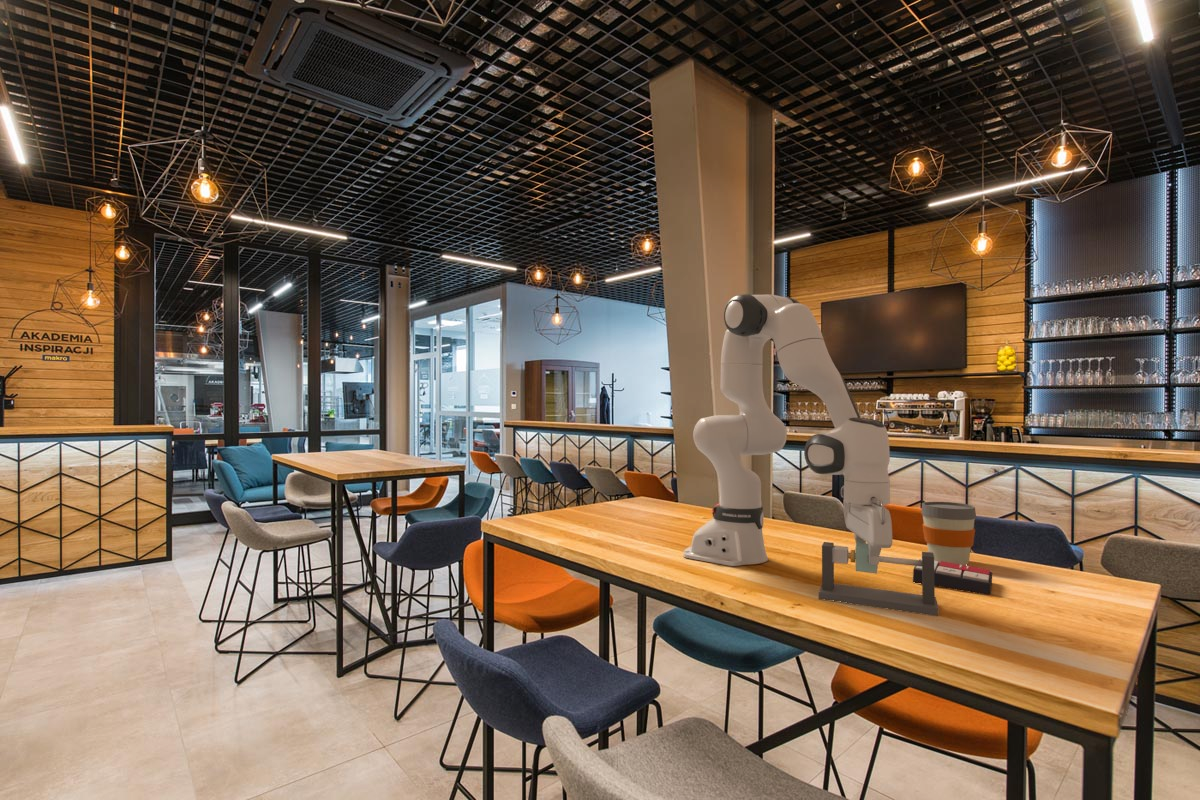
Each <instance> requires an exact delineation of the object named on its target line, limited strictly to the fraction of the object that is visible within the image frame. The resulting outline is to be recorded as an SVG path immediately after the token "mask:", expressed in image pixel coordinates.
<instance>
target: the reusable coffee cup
mask: <svg viewBox="0 0 1200 800" xmlns="http://www.w3.org/2000/svg"><path fill="white" fill-rule="evenodd" d="M920 513H921V515H922V520H923V523H922V524H921V525H922V531H923V538H924V541H925V542H926V545H927V552H932V553H933V554H934V561H938V562H939V563H940V562H941V561H943V562H949V563H955V564H960V565H966V564H968V565H969V564H970V557H971V550H972V549H971V548H972V547H973V546H974V543H975V542H974V541H975V533H976V528H975V520H976V519H977V515H976V514H977V513H976V507H975V505H971V504H968V503H961V502H950V501H925V502H922V503H921V511H920Z"/></svg>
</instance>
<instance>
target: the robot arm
mask: <svg viewBox="0 0 1200 800" xmlns="http://www.w3.org/2000/svg"><path fill="white" fill-rule="evenodd" d="M723 321H724V325H725V327H726V330H725V332H724V335H723V341H722V347H721V354H720V355H721V357H720V387H719V388H720V391H721V393H722V395H723V396H724V397H725V398H726V399H727V400H729V401H731V402H732V403H735V404H736V405H737V406H738V410H739V414H719V415H718V414H716V415H712V416H707V417H702V418H699V420H698V421H697V422H696V424H695V425H694V428H693V433H692V436H693V437H692V438H693V442H694V445H695V447H696V448H697V450H698V451H700V453H701V454H703V455H704V456H706V458H707V459H708V460H709V461H710V462H711V464H712V466H713V467H714V469H715V472H716V475H717V479H718V490H719V503H717V504H715V505H714V507H713V508H712V509H711V514H712V517H713V518H712V519H710V520H708V521H707V522H706V523H705V524H703V525H702V526H700V527H699V528H698V529H696V531H695V532H694V534H693V536H692V538H691V539H692V540H691V545H690V546H687V547H686V548H685V549H684V550H683V552H682V553H683V554H682V555H683V557H684V558H687V559H691V560H696V561H702V562H707V563H708V562H709V563H712V564H718V565H724V566H729V567H739V566H744V565H745V566H746V565H758V564H764V563H765V562H768V560H769V558H768V555H767V551H766V547H765V542H764V535H763V528H764V527H763V526H764V508H763V506H762V481H761V479H760V476H759V475H758V474H757V473H756V472H754V471H753V470H751V469H749V468H747V467H745V466H744V464H743V463H742V457H741V456H755V455H756V456H760V455H762V456H764V455H768V454H773V453H777V452H780V451H782V449H783V448H784V446H785V444H786V442H787V438H788V433H787V427H786V426H785V424H784V423H783V421H782V420H781V419H780V418H779V417H778V416H777V415H775V414H774V413H773V411H772V410H771V408H770V407H769V405H768V403H767V400H766V398H765V394H764V385H763V383H764V382H763V366H764V364H763V363H764V362H763V356H764V355H763V353H764V352H763V350H764V346H765V344H766V343H767V342H768V341H769V340H770V341H771V342H773V343H774V348H775V352H776V357H777V359H778V362H779V367H780V368H781V371H782V373H783V374H784V376H785V377H786V378H787V380H789V382H792V383H793V384H795V385H797V386H799V387H801V388H804V389H805V390H808V391H810V392H811V393H813V394H815V395H816V396H817V397H818V398H819V399H820V400H821V401H822V403H823V404H824V405H825V406H826V409H827V412H828V414H829V416H830V419H831V421H832V424H833V427H834V428H832V429H829V430H826V431H823V432H820V433H816V434H813V435H812V436H810V437H809V439H808V440H807V441H806V443H805V445H804V451H803V454H804V455H803V456H804V460H805V462H806V465H807V466H808V468H809V469H810V470H811V471H812V472H814V473H816V474H818V475H822V476H823V475H824V476H833V475H835V476H838V475H839V476H841V475H843V478H844V479H843V480H844V481H843V485H842V487H841V488H840V496H841V498H843V503H842V504H843V517H844V523H845V526H846V528H847V530H849V531H851V532H852V533H853V535H854V542H855V545H856V544H857V542H859V543H868V547H869V555H867V558H868V563H870V564H871V565H879V563H880V562H879V556H881V552H882V549H890V548H892V546H893V525H892V516H891V513H890V511H889V509H888V508H887V507H885V506H887V505H890V504H891V478H890V476H889V472H888V468H889V465H890V461H891V459H890V455H891V454H890V441H889V435H888V433H889V432H888V429H887V428H886V426H885V424H884V423H883V422H881V421H880V420H876V419H872V418H868V417H867V418H865V417H861V415H860V413H859V411H858V408H857V405H856V403H855V401H854V399H853V396H852V394H851V392H850V390H849V387H848V384H847V383H846V381H845V379H844V378H843V375H842V374H841V373H840V371H839V370H838V368H837V367H836V365H835V363H834V362H833V360H832V358H831V356H830V354H829V351H828V348H827V346H826V342H825V340H824V336H823V333H822V331H821V327H820V326H819V324H818V322H817V320H816V317H815V316H814V314H813V312H812V310H811V309H810V308H809V307H808V306H807V305H806V304H803V303H801V302H800V301H798V300H796V299H795V298H793V297H789V296H780V295H776V294H771V293H770V294H769V293H767V294H766V293H765V294H749V293H746V294H737V295H735V296H733V297H731V298H730V299H729V300H728V301H727V304H726V305H725V308H724V313H723Z"/></svg>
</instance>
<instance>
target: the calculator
mask: <svg viewBox="0 0 1200 800" xmlns="http://www.w3.org/2000/svg"><path fill="white" fill-rule="evenodd" d="M919 560H922V558H920V559H919ZM912 570H913V571H912V583H913V582H915V583H921V584H920V585H922V566H914V568H913V569H912ZM915 583H914V584H915ZM934 585H935V587H939V586H940V588H944V587H945V589H949V588H950V589H949V590H954V589H957V590H956V591H960V590H963V591H962V592H967V591H970V592H969V593H973V592H975V593H974V594H979V593H980V594H981V595H985V596H986V595H987V596H990V595H991V594H992V585H993V572H992V571H991V570H990V569H988V568H982V567H976V566H971V565H967V566H966V565H960V564H955V563H949V562H943V561H941V562H940V563H939V562H938V561H934Z"/></svg>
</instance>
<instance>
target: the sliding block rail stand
mask: <svg viewBox="0 0 1200 800" xmlns="http://www.w3.org/2000/svg"><path fill="white" fill-rule="evenodd" d="M849 559H850V560H849ZM921 559H922V560H920V559H909V558H904V557H903V558H901V557H892V556H885V555H879V563H887V564H897V565H907V566H912V567H913V566H914V567H915V566H922V584H921V590H922V591H921V593H922V594H919V593H918V594H917V593H910V592H903V591H896V590H894V591H893V590H886V589H879V588H873V587H865V586H864V587H863V586H855V585H850V584H849V585H847V584H841V583H835V564H842V565H843V564H844V565H848V563H849V561H850V563H855V564H856V551H855V549H850V552H849V546H840V545H834V542H829V541H824V542H823V543H822V545H821V578H822V579H821V580H822V581H821V586H820V588H819V590H818V600H821V599H825V600H824V601H828V600H834V601H833V602H835V601H841V602H840V603H842V602H847V603H846V604H849V603H852V604H851V605H856V604H858V605H857V606H863V605H864V607H870V606H871V608H877V607H878V608H879V609H884V608H888V609H887V610H891V609H894V610H893V611H898V610H902V611H901V612H905V611H908V613H912V612H915V613H914V614H919V613H922V615H926V614H928V615H929V616H934V617H939V606H938V602H937V601H938V600H937V597H936V595H935V591H936V589H935V588H936V586H935V585H934V554H933V553H932V552H928V551H921ZM928 615H927V616H928Z"/></svg>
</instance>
